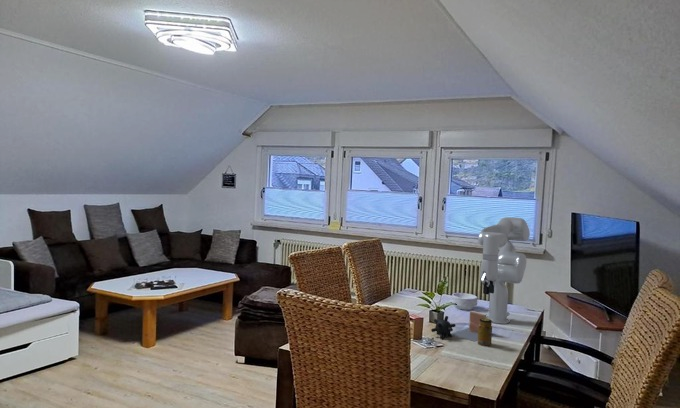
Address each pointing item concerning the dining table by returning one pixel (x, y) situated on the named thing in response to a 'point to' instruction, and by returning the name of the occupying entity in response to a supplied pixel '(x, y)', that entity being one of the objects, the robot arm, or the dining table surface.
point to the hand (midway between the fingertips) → (488, 293)
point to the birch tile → (475, 321)
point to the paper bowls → (464, 301)
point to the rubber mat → (467, 335)
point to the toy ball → (443, 327)
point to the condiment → (485, 332)
